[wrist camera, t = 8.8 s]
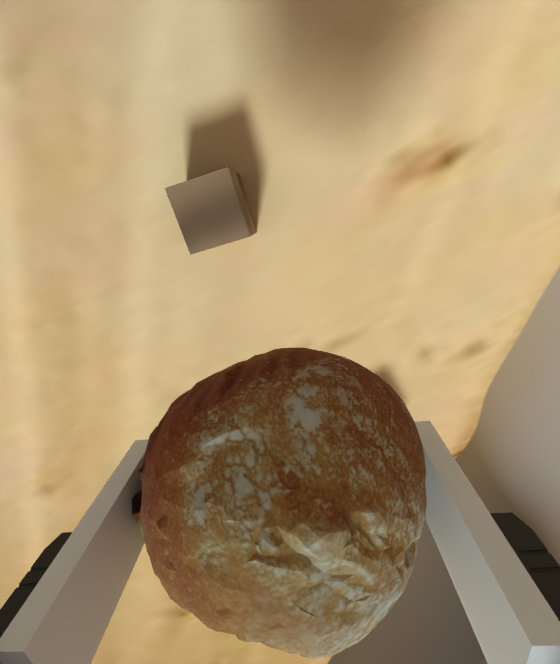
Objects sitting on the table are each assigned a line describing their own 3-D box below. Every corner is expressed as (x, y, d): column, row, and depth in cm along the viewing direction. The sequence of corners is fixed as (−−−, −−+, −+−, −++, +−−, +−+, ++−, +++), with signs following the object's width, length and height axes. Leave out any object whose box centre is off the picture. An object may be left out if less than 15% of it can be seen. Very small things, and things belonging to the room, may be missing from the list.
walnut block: (186, 192, 27) (165, 188, 23) (239, 174, 27) (227, 166, 22) (206, 247, 29) (190, 254, 24) (256, 232, 28) (249, 236, 24)
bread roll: (353, 465, 18) (489, 616, 11) (174, 557, 15) (200, 854, 8) (334, 303, 14) (521, 368, 7) (92, 377, 11) (-3, 627, 4)
